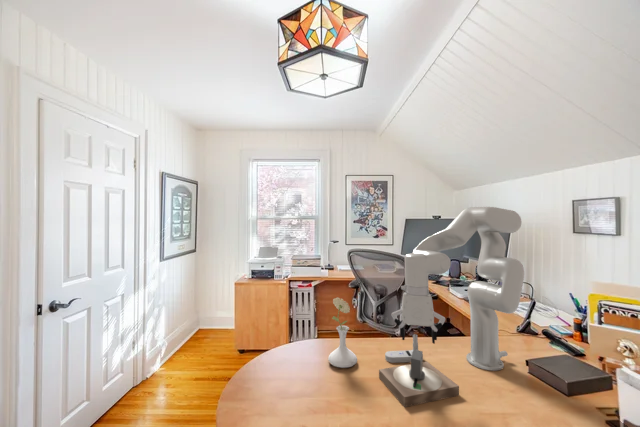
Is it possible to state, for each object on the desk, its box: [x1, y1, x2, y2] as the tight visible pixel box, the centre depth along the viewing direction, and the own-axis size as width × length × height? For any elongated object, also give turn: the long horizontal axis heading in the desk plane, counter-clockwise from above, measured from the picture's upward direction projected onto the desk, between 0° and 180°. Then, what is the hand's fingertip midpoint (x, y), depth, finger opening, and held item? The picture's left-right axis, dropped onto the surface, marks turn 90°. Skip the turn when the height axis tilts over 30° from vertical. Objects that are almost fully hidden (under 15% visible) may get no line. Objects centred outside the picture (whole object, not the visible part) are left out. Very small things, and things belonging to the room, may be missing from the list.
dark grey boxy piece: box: [409, 349, 425, 387], centre depth 94 cm, size 10×5×7 cm, turn 155°
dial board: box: [378, 361, 460, 408], centre depth 95 cm, size 20×16×3 cm
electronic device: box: [384, 333, 419, 364], centre depth 113 cm, size 5×10×15 cm
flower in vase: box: [327, 297, 358, 369], centre depth 111 cm, size 13×11×25 cm
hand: (418, 340), depth 96 cm, fingers open, 9 cm apart
